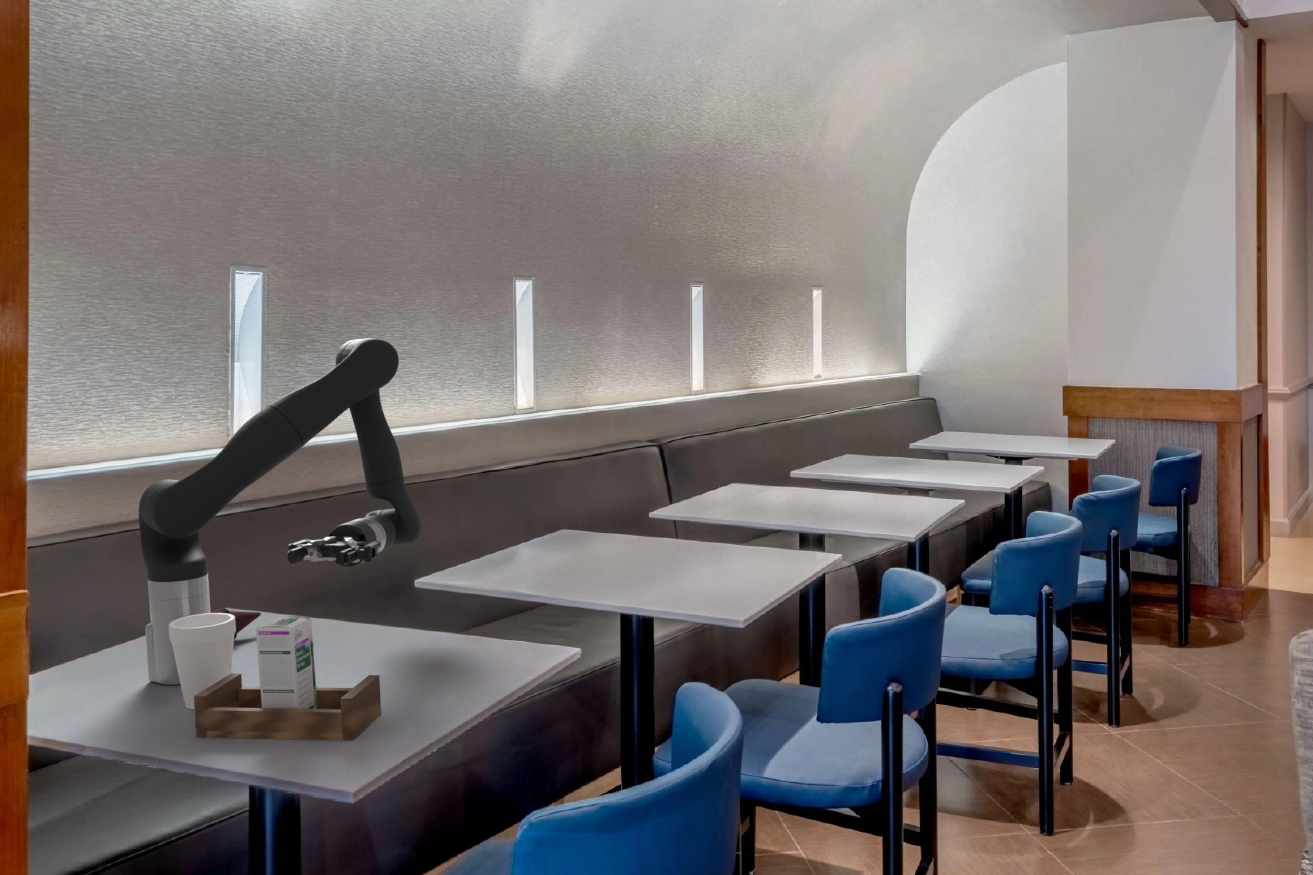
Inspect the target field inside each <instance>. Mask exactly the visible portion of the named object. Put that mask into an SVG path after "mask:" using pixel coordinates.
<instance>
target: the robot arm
mask: <svg viewBox="0 0 1313 875" xmlns="http://www.w3.org/2000/svg"><path fill="white" fill-rule="evenodd" d="M399 358H400V357H399V354H398V351H397V349H396V348H395V346H393V345H392V343H390V342H388V341H386V340H384V339H380V338H377V337H376V338H375V337H367V338H355V339H352V340H348V341H346V342H345V343H344V344H342V345H341V346H340V347H339V349H338V351H337V353H336V356H335V366H334V368H332V370H330V371H329V372H327V373H326V374H323V375H322V376H321V377H320V378H318V379H316V380H314V381H312V382H310V383H308V384H306V385H304V386H302V387H299V388H296V389H295V390H293V391H291V392H289V393H287V394H284V395H283V396H280V397H279V398H277V399H276V400H274V401H273V402H271V403H269V404H268V405H266V406H265V407H264V408H262V409H261V410H260V411H258V412H257V413H256V414H254V415H253V416H251V417H250V418H249V419H248V420H247V421H246V422H245V423H243V425H241V427H240V428H238V430H237V431H236V432H235V433H234V434H233V435H232V436H231V438H230V440H229V441H228V442H227V443H226V444H225V446H224V447H223V448H222V450H221V451H219V453H218V454H216V456H214V457H213V458H212V459H211V460H210V461H208V462H207V463H206V464H203V466H201V467H199V468H198V469H197V470H195V471H194V472H192V473H190V474H188V475H186V477H184V478H182V479H179V480H177V479H169V478H168V479H162V480H158V481H156V482H154V483H151V484H150V485H149V486H148V487H147V488H146V489H145V490H144V492H143V493H142V494H141V497H140V499H139V504H138V522H139V524H138V525H139V535H140V545H141V554H142V560H143V563H144V565H145V568H146V576H147V589H148V600H149V601H148V602H149V603H148V604H149V616H150V622H149V623H147V624H146V625H145V627H144V628H145V643H146V657H147V658H146V660H147V673H148V681H149V682H154V683H157V684H159V685H166V686H167V685H181V684H180V679H179V675H178V670H177V665H176V661H175V656H174V651H173V647H172V642H171V641H170V638H169V624H170V622H172V621H174V620H176V619H179V618H183V617H187V616H191V615H198V614H205V613H211V612H212V611H211V600H210V599H211V598H210V584H209V581H210V580H209V570H208V569H209V568H208V559H207V556H206V554H205V552H204V551H203V547H202V544H201V542H200V532H199V531H200V530H202V529H203V528H204V527H205V526H206V525H208V524H209V522H211V520H212V519H214V518H215V517H216V516H217V515H218V514H219V513H220V512H221V511H222V510H223V509H224V508H225V507H226V506H227V505H228V504H230V502H232V500H234V498H235V497H237V496H238V495H239V494H240V493H241V492H243V491H244V490H245V489H247V488H248V487H250V486H252V484H254V483H255V482H257V481H258V480H259V479H261V478H262V477H264V476H266V475H267V474H268V473H269V472H271V471H272V470H274V469H275V468H276V467H277V466H279V465H280V464H282V463H283V462H284V461H286V460H288V458H290V457H291V456H292V455H293V454H295V453H296V452H297V451H299V450H300V449H302V448H303V447H304V446H305V445H306V444H307V443H309V441H311V440H312V439H314V437H317V435H318V434H320V432H322V431H323V430H325V429H326V428H327V427H328V426H329V425H330V424H332V423H333V422H334V421H335V420H337V418H338V417H340V416H341V415H342V414H343V413H345V412H346V411H347V410H349V412H350V415H351V419H352V422H353V425H354V429H355V433H356V437H357V438H356V439H357V441H358V445H359V451H360V457H361V458H360V459H361V463H362V468H363V474H364V479H365V480H364V481H365V487H366V491H367V495H368V496H369V497H370V498H372V499H375V500H381V501H382V500H383V501H386V502H389V504H390V505H391V506H392V507H393V508H388V509H377V510H373V511H370V512H368V513H367V514H366V515H365V516H364V518H356V519H353V520H350V521H348V522H345V523H342V524H339V525H337V526H335V527H334V528H333V529H332V530H331V531H330V532H329V534H328V536H326V537H324V538H319V539H313V540H311V539H309V538H305V539H301V540H299V541H295V542H293V543H289V544H288V551H287V562H289V564H290V565H291V564H293V565H295V564H298V563H300V562H303V561H307V560H308V561H310V562H314V563H315V562H323V561H329V562H334V563H335V564H337V565H338V566H341V567H343V568H354V567H356V566H359V565H361V564H363V563H370V562H373V561H374V560H377V559H378V558H379V557H382V553H384V552H385V551H387V550H388V549H389V548H391V547H395V546H406V545H412V544H414V543H415V542H417V541H418V540H419V538H420V537H421V536H420V535H421V532H422V521H421V518H420V515H419V513H418V511H417V509H416V506H415V505H414V503H413V501H412V499H411V496H410V494H409V491H408V489H407V486H406V483H405V478H404V477H405V476H404V472H403V466H402V459H401V455H400V449H399V448H398V444H397V442H396V438H395V436H394V434H393V433H392V430H391V428H390V426H389V423H388V421H387V419H386V416H385V413H384V410H383V405H382V402H381V395H380V390H381V388H383V387H385V386H386V385H388V384H389V383H390V382H391V381H392V380H393V379H394V377H395V376H396V374H397V372H398V370H399V363H400V359H399ZM318 555H320V556H318Z"/></svg>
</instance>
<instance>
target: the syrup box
mask: <svg viewBox="0 0 1313 875" xmlns="http://www.w3.org/2000/svg"><path fill="white" fill-rule="evenodd" d="M255 632H256V635H255V636H256V646H257V649H256V650H257V659H258V660H257V661H258V663H257V664H258V675H259V685H260V686H259V687H260V689H261V702H262V708H284V709H318V707H317V694H316V687H317V681H316V668H315V667H316V666H315V654H314V642H313V640H314V639H313V628H312V618H311V617H307V616H300V615H298V616H297V615H296V616H295V615H293V616H292V615H291V616H280V617H279V616H276V617H275V618H274V619H272V620H270V621H268V622H265V623H264V624H262V625H260V626H257V627H256V628H255Z"/></svg>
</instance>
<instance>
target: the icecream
mask: <svg viewBox="0 0 1313 875" xmlns="http://www.w3.org/2000/svg"><path fill="white" fill-rule="evenodd" d="M210 612H211V613H226V614H231V615H233V616H235V625H236V632H235V634H234V641H235V640H236V639H237V636H238V634H239V633H240V632H241V631H242V630H244V629H245V628H246V627H247V626H249V625H250V624H251V623H252V622H253V621H255V620H256V619H258V618H259V617H260V616H262V614H261V612H259V611H258V612H257V611H256V612H255V611H238V610H237V611H235V610H234V611H233V610H229V609H227V608H225V607H222V606H220V607H219V608H217V609H215V610H213V611H210Z"/></svg>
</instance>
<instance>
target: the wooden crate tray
mask: <svg viewBox="0 0 1313 875" xmlns="http://www.w3.org/2000/svg"><path fill="white" fill-rule="evenodd" d="M242 679H243V678H242V673H240V672H239V673H238V672H237V673H234V672H233V673H232V672H231V674H229V675H228V676H226V677H225V678H223V679H221V680H220V681H218V682H216V683H215V684H213V685H211V686H210V687H208V688H206V689H205V690H203V691H202V692H200V693H198V694H197V695H195V696H194V708H195V709H194V719H195V735H196V736H195V738H196V737H202V738H206V737H207V738H206V739H211V738H212V739H248V740H250V739H253V740H255V739H257V740H258V739H260V740H298V741H299V740H301V741H302V740H304V741H305V740H307V741H309V740H311V741H350V742H351V741H355V740H356V739H357V738H358V737H359V736H360V735H361V734H362V733H364V732H365V731H366V730H367V729H368V728H369V726H371V725H372V724H373V723H374V722H375V721H376V720H377V719H378V718H379V717H380V716H381V715H382V703H381V699H382V698H381V683H380V682H381V680H380V679H381V678H380V674H369V675H367V676H366V677H365V678H364V679H362V680H361V681H360V682H359V683H357V684H356V685H355V686H354V687H319V686H318V687H317V686H316V694H317V707H318V709H284V708H262V702H261V689H260V686H243V680H242ZM208 737H209V738H208Z"/></svg>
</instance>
